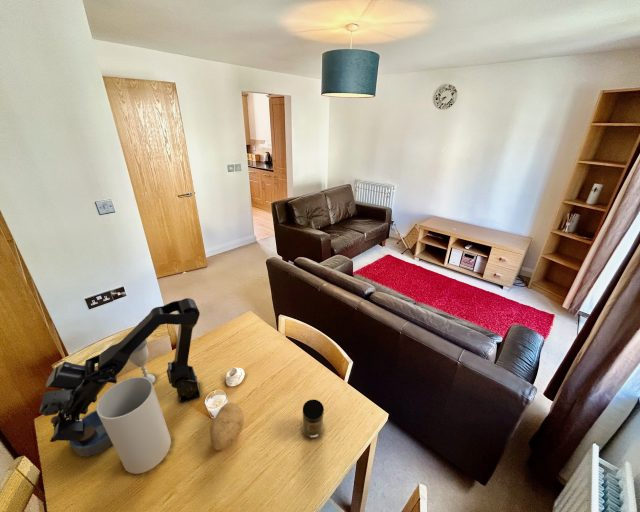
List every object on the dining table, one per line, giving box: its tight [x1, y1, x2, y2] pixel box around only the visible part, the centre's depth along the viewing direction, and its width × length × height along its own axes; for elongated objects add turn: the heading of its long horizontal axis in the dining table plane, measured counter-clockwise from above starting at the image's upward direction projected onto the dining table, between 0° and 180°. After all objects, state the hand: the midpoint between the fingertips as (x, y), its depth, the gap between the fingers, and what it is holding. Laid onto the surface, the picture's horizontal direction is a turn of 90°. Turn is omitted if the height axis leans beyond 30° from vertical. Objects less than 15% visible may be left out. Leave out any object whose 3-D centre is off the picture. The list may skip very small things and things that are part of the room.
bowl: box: [68, 409, 113, 457], centre depth 86 cm, size 13×13×4 cm
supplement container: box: [302, 399, 325, 440], centre depth 88 cm, size 7×7×10 cm
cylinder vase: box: [96, 376, 172, 475], centre depth 78 cm, size 12×12×25 cm
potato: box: [209, 402, 244, 451], centre depth 87 cm, size 10×14×8 cm
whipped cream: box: [225, 366, 246, 387], centre depth 106 cm, size 8×7×5 cm
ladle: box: [50, 415, 96, 443], centre depth 82 cm, size 8×4×12 cm, turn 117°
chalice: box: [128, 339, 156, 384], centre depth 102 cm, size 7×7×18 cm
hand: (53, 433), depth 79 cm, fingers open, 5 cm apart
